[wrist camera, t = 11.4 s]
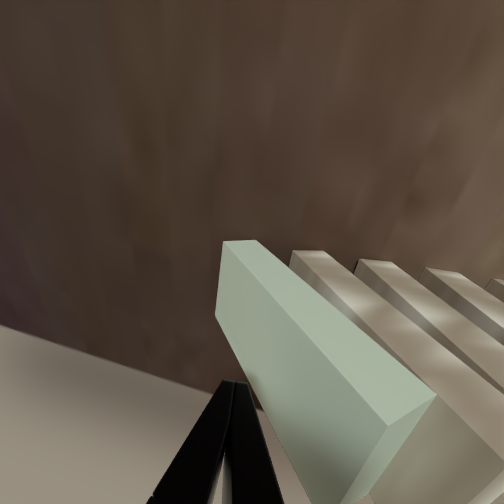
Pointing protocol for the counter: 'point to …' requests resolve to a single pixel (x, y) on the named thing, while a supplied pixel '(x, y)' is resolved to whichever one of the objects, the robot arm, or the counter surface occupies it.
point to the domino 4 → (437, 321)
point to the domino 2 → (440, 410)
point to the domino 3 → (467, 300)
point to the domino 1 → (316, 376)
